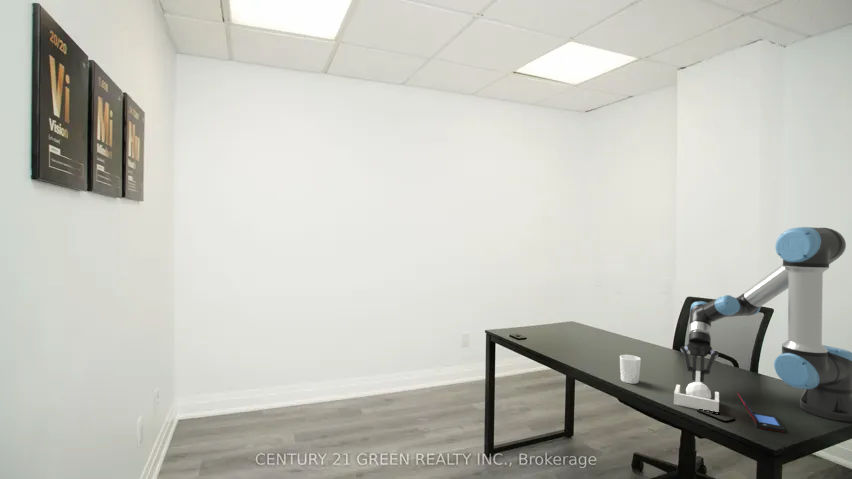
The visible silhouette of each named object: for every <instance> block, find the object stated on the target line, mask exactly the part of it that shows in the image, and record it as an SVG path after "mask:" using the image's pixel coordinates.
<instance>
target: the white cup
mask: <svg viewBox="0 0 852 479" xmlns="http://www.w3.org/2000/svg"><path fill="white" fill-rule="evenodd" d="M641 362H642V361H641V357H639V356H636V355H633V354H632V355H631V354H620V355H619V369H620V371H619V372H620V380H621V382H623V383H627V384H630V385H631V384H632V385H633V384H634V385H635V384H638V383H639V381H640V373H641V371H640V370H641Z"/></svg>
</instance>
